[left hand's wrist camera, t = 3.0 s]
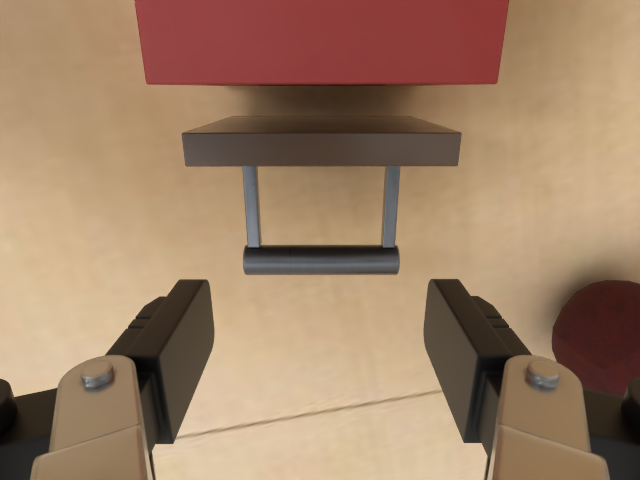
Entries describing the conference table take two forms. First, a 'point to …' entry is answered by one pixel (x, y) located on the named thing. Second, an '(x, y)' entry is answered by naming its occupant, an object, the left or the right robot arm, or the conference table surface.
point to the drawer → (321, 150)
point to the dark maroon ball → (601, 336)
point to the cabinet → (321, 41)
